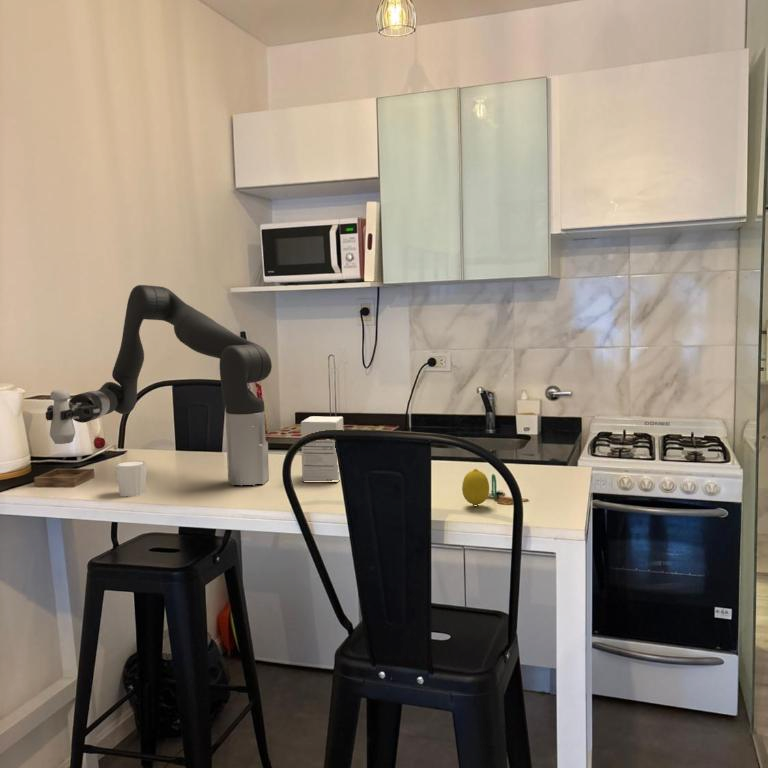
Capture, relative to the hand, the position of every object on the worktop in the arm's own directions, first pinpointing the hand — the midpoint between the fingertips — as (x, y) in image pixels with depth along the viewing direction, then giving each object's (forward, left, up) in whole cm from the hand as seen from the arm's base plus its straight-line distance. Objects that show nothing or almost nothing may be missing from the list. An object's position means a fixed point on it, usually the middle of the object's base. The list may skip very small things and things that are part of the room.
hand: (55, 416), depth 176 cm
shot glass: (-22, +8, -17) cm, 29 cm away
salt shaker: (0, -3, -7) cm, 8 cm away
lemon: (-100, +18, -17) cm, 103 cm away
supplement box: (-64, -7, -17) cm, 67 cm away
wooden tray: (0, -3, -17) cm, 17 cm away
